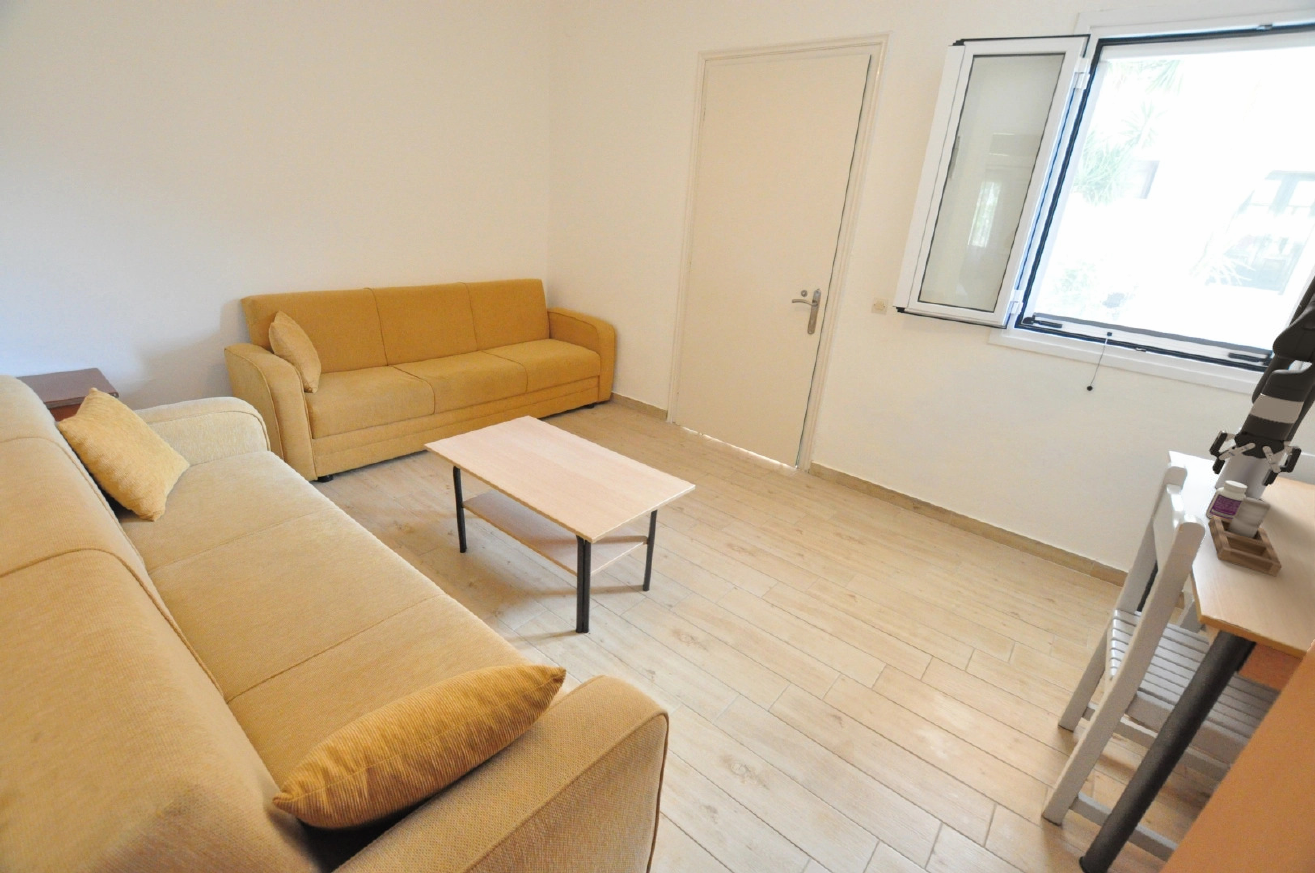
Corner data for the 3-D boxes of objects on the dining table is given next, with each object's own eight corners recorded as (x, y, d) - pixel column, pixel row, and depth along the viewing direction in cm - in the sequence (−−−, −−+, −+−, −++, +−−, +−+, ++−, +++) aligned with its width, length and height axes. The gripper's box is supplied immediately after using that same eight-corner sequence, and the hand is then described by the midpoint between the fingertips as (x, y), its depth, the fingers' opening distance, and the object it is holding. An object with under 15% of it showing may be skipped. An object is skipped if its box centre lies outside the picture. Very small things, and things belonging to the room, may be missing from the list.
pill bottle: (1239, 525, 137) (1257, 490, 133) (1214, 522, 138) (1232, 487, 134) (1223, 514, 142) (1241, 480, 138) (1199, 511, 143) (1216, 477, 139)
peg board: (1208, 523, 137) (1226, 487, 133) (1258, 537, 132) (1279, 500, 128) (1218, 558, 122) (1239, 518, 118) (1275, 576, 117) (1300, 535, 113)
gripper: (1312, 420, 128) (1277, 484, 134) (1228, 404, 136) (1199, 465, 142) (1321, 428, 123) (1284, 494, 129) (1233, 411, 131) (1202, 474, 137)
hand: (1239, 479), depth 136 cm, fingers open, 8 cm apart
